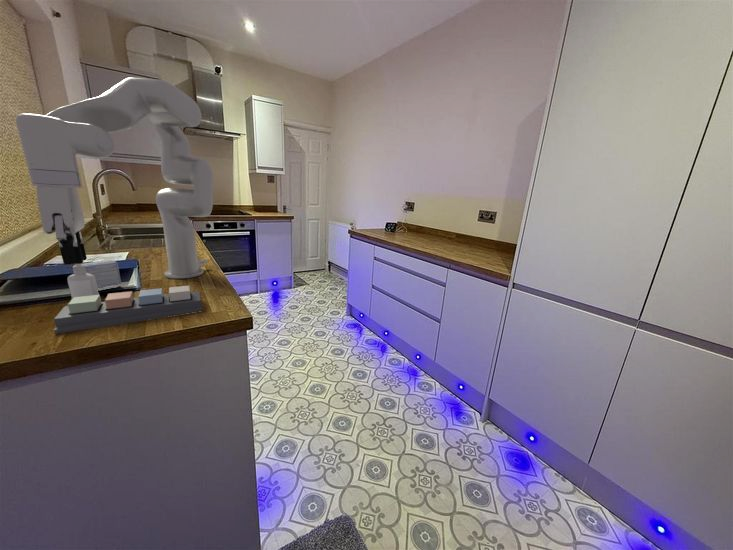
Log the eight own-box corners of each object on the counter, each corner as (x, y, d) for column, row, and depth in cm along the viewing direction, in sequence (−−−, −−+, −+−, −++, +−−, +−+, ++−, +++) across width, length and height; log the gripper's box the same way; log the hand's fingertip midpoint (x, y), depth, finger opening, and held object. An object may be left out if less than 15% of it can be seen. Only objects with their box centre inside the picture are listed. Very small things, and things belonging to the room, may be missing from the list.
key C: (101, 303, 74) (99, 294, 73) (97, 310, 70) (95, 301, 69) (75, 306, 71) (73, 297, 71) (70, 313, 67) (67, 304, 67)
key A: (189, 293, 84) (189, 285, 83) (190, 298, 80) (189, 290, 80) (170, 295, 82) (169, 287, 81) (170, 301, 78) (168, 293, 77)
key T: (163, 296, 81) (161, 288, 80) (162, 302, 77) (161, 294, 76) (141, 298, 78) (140, 290, 77) (139, 305, 74) (138, 296, 74)
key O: (133, 299, 77) (132, 291, 77) (131, 306, 73) (129, 297, 73) (110, 302, 75) (108, 293, 74) (106, 309, 71) (104, 300, 70)
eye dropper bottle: (84, 306, 79) (74, 264, 75) (70, 302, 80) (60, 261, 76) (102, 300, 83) (94, 260, 79) (88, 297, 84) (79, 257, 81)
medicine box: (116, 284, 95) (111, 259, 93) (122, 287, 93) (117, 261, 91) (84, 290, 89) (78, 263, 86) (90, 294, 87) (84, 266, 84)
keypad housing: (199, 298, 89) (198, 289, 88) (202, 312, 80) (201, 302, 79) (69, 314, 73) (66, 303, 73) (55, 333, 65) (51, 321, 64)
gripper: (45, 177, 66) (64, 255, 72) (14, 178, 53) (39, 273, 59) (89, 180, 70) (103, 253, 76) (70, 181, 57) (89, 269, 63)
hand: (75, 261), depth 67 cm, fingers open, 2 cm apart
